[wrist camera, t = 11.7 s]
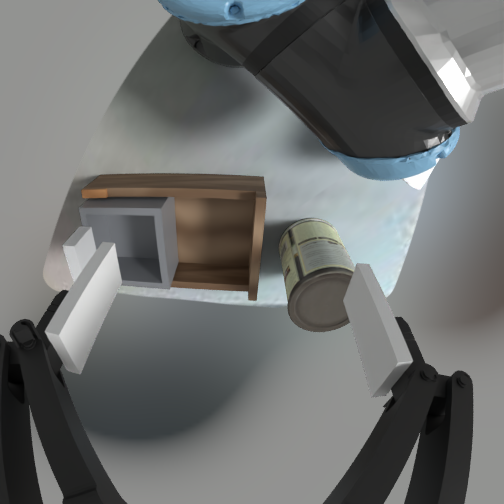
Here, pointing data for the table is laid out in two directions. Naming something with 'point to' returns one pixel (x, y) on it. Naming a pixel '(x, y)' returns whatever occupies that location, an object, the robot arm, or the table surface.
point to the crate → (128, 238)
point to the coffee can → (315, 275)
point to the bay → (204, 224)
